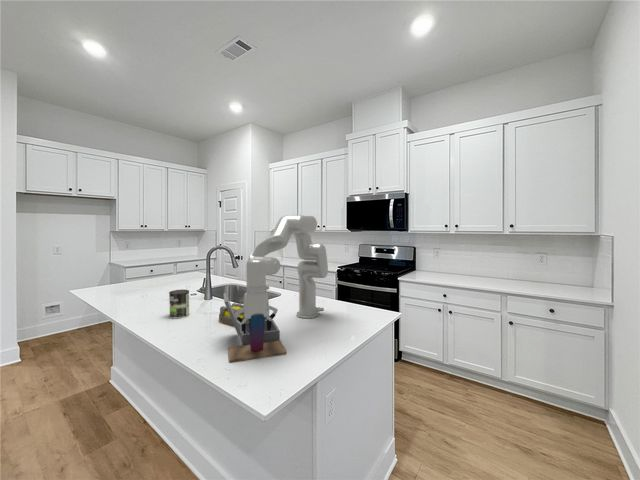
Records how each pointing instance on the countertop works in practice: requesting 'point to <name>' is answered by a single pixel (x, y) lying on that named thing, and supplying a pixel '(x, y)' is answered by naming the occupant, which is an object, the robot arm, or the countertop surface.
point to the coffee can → (179, 303)
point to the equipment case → (268, 335)
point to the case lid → (231, 314)
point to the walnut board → (246, 354)
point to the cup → (256, 332)
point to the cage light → (225, 316)
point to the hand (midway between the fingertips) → (256, 331)
